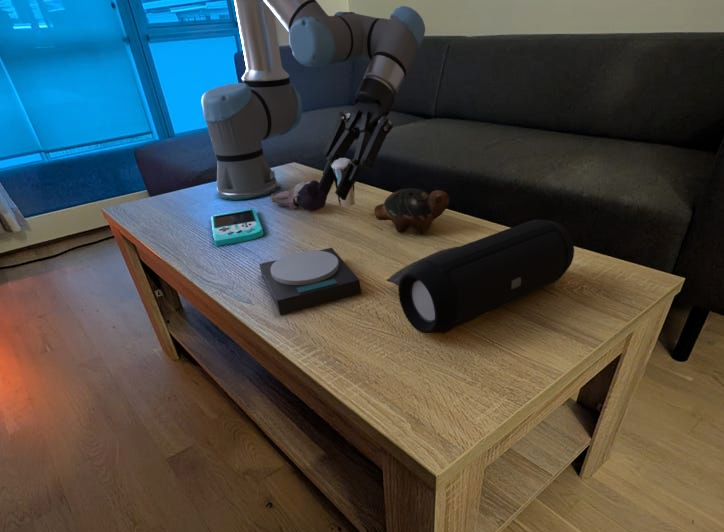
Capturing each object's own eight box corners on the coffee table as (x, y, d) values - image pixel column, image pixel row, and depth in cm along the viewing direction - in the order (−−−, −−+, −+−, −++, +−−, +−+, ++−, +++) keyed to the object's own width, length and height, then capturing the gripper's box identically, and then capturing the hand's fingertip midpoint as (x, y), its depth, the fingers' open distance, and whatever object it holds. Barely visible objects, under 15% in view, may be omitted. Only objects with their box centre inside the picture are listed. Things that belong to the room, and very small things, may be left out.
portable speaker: (440, 353, 57) (442, 283, 51) (395, 320, 63) (392, 255, 57) (571, 290, 67) (586, 225, 61) (521, 267, 74) (530, 207, 68)
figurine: (289, 191, 110) (337, 183, 102) (289, 219, 111) (337, 212, 103) (259, 182, 102) (308, 172, 94) (259, 211, 103) (308, 204, 95)
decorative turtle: (447, 239, 85) (445, 197, 80) (371, 241, 89) (364, 201, 84) (453, 218, 92) (452, 178, 87) (382, 220, 96) (377, 182, 91)
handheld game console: (214, 246, 89) (212, 240, 88) (211, 220, 101) (209, 214, 100) (264, 237, 91) (263, 231, 90) (255, 212, 103) (254, 207, 102)
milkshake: (332, 202, 97) (325, 153, 91) (357, 199, 98) (351, 150, 91) (333, 209, 94) (325, 158, 88) (358, 206, 94) (352, 155, 88)
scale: (262, 277, 77) (257, 259, 75) (333, 260, 80) (331, 243, 78) (280, 315, 67) (275, 295, 65) (361, 294, 70) (359, 275, 68)
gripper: (421, 104, 89) (372, 211, 90) (357, 99, 99) (313, 196, 99) (404, 77, 83) (351, 192, 84) (337, 74, 92) (290, 177, 93)
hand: (331, 194), depth 91 cm, fingers closed on milkshake, 5 cm apart
